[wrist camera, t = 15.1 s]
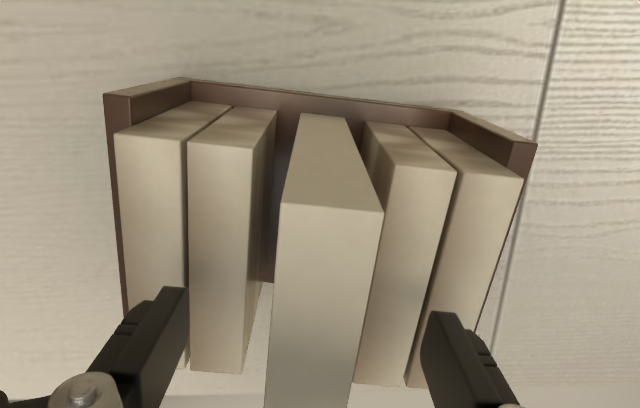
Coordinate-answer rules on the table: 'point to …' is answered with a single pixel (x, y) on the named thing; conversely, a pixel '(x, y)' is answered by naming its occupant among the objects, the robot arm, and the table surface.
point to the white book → (321, 268)
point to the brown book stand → (264, 208)
